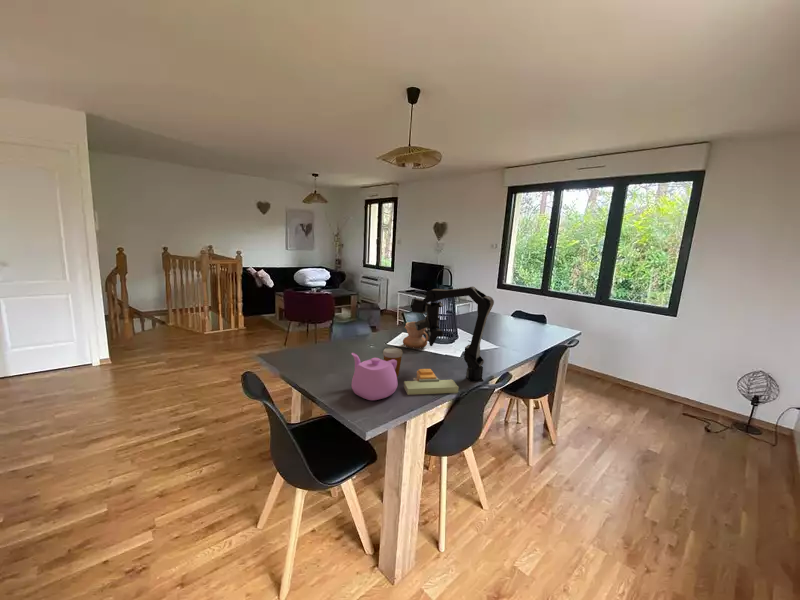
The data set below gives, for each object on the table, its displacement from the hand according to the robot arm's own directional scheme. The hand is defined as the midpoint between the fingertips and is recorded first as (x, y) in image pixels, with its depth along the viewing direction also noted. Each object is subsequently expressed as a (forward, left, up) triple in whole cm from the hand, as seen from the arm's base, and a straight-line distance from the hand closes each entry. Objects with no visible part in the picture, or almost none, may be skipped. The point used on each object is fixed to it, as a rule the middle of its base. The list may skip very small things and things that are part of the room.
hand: (430, 345), depth 177 cm
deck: (+6, +21, -12) cm, 25 cm away
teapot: (+31, +25, -12) cm, 42 cm away
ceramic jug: (-1, -36, -12) cm, 38 cm away
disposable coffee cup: (+20, +6, -12) cm, 24 cm away
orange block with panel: (+6, +16, -12) cm, 21 cm away
